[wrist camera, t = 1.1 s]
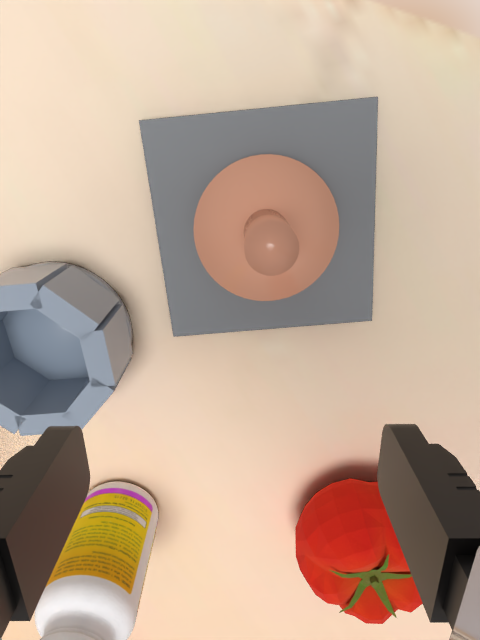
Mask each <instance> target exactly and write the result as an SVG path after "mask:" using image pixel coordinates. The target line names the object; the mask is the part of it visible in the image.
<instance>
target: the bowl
mask: <svg viewBox="0 0 480 640" xmlns="http://www.w3.org/2000/svg"><path fill="white" fill-rule="evenodd" d="M132 333H133V332H132V324H131V320H130V317H129V314H128V311H127V309H126V307H125V305H124V303H123V302H122V300H121V298H120V297H119V296H118V294H117V293H116V292H115V291H114V290H113V288H112V287H111V286H110V285H109V284H107V283H106V282H105V281H104V280H103V279H101V278H100V277H98V276H97V275H95V274H94V273H92V272H90V271H88V270H86V269H84V268H82V267H79V266H76V265H73V264H68V263H63V262H41V263H36V264H32V265H29V266H26V267H17V268H10V269H8V270H7V271H5V272H3V273H1V274H0V426H2V427H3V428H5V429H7V430H8V431H10V432H12V433H13V434H15V433H16V431H17V430H18V429H19V432H20V435H21V436H24V435H38V434H43V433H44V431H45V430H46V429H47V428H48V427H49V426H79V427H80V428H81V429H83V427H84V426H85V425H86V424H87V423H88V422H89V420H90V419H91V418H92V417H93V416H94V414H95V413H96V412H97V411H98V410H99V408H100V407H101V406H102V405H103V404H104V402H105V401H106V400H107V399H108V398H109V396H110V395H111V394H112V393H113V392H114V390H115V388H116V386H117V385H118V383H119V381H120V379H121V377H122V375H123V373H124V371H125V370H126V368H127V366H128V364H129V362H130V360H131V356H132V354H133V352H132V347H131V346H132Z"/></svg>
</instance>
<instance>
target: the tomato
mask: <svg viewBox="0 0 480 640" xmlns="http://www.w3.org/2000/svg"><path fill="white" fill-rule="evenodd" d="M296 558H297V561H298V564H299V568H300V571H301V572H302V574H303V576H304V577H305V579H306V581H307V582H308V584H309V585H310V587H311V588H312V590H313V592H314V593H315V595H317V596H318V597H320V598H321V599H322V600H324V601H325V602H326V603H330V604H335V605H340V607H341V608H342V609H343V610H341V611H340V612H342V611H344V612H345V613H346V614H350V615H353V616H355V617H357V618H358V619H360V620H362V621H363V622H365V623H373V624H383V623H384V622H385V621H386V620H387V619H388V618H389V617H390V616H391V615H394V616H395V617H396V615H395V613H394V612H395V611H396V610H397V609H399V610H403V611H407V612H412V611H413V610H415V609H416V608H417V607H419V606H420V605H421V604H423V603H422V600H421V598H420V595H419V593H418V590H417V587H416V585H415V582H414V580H413V577H412V575H411V572H410V570H409V567H408V565H407V562H406V560H405V557H404V554H403V552H402V549H401V547H400V544H399V542H398V539H397V537H396V534H395V532H394V529H393V527H392V524H391V521H390V519H389V516H388V514H387V511H386V509H385V506H384V504H383V501H382V499H381V496H380V492H379V488H378V481H377V482H365V481H361V480H356V479H352V478H350V479H346V480H342V481H338V482H335V483H331V484H330V485H328V486H326V487H325V488H323V489H322V490H320V491H318V492H317V493H316V494H315V495H314V496H313V497H312V498H311V499H310V501H309V502H308V503H307V504H306V505H305V507H304V509H303V511H302V513H301V516H300V518H299V521H298V523H297V526H296ZM340 612H339V613H340Z"/></svg>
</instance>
